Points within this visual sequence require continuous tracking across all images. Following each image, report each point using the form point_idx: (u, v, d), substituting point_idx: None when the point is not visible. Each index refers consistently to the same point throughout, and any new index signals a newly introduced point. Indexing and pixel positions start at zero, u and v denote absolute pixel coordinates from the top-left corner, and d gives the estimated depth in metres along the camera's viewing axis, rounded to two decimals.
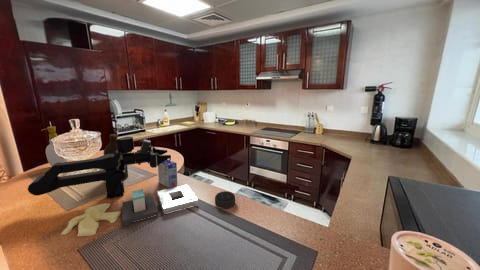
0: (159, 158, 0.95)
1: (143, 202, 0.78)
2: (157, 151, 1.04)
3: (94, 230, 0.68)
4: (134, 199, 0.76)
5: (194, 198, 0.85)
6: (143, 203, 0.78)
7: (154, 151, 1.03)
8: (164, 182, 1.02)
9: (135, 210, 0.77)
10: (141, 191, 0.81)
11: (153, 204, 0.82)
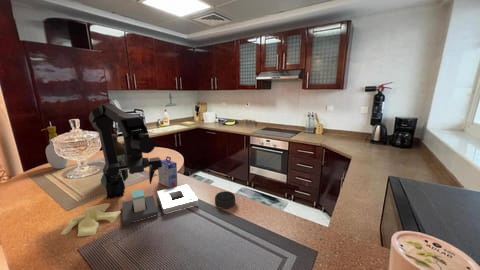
0: None
1: (143, 202, 0.78)
2: (150, 172, 0.80)
3: (94, 230, 0.68)
4: (134, 199, 0.76)
5: (194, 198, 0.85)
6: (143, 203, 0.78)
7: (150, 169, 0.79)
8: (164, 182, 1.02)
9: (135, 210, 0.77)
10: (141, 191, 0.81)
11: (153, 204, 0.82)
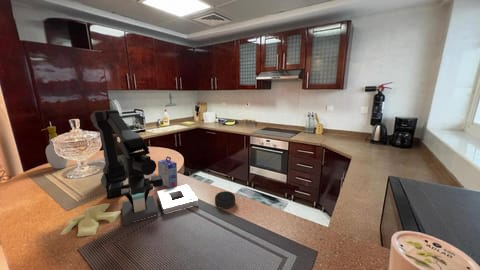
0: None
1: (143, 202, 0.78)
2: (144, 192, 0.80)
3: (94, 230, 0.68)
4: (134, 199, 0.76)
5: (194, 198, 0.85)
6: (143, 203, 0.78)
7: (145, 189, 0.80)
8: (164, 182, 1.02)
9: (135, 210, 0.77)
10: None
11: (153, 204, 0.82)
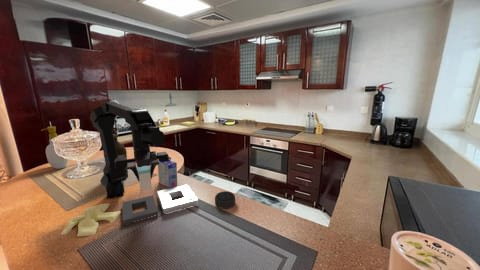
0: None
1: (149, 177, 0.77)
2: (150, 167, 0.79)
3: (94, 230, 0.68)
4: (140, 173, 0.75)
5: (194, 198, 0.85)
6: (149, 178, 0.77)
7: (150, 164, 0.79)
8: (164, 182, 1.02)
9: (141, 185, 0.76)
10: (147, 167, 0.80)
11: (153, 204, 0.82)
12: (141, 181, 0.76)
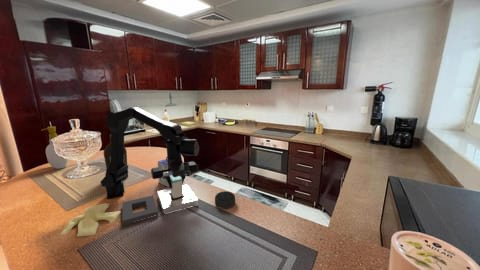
0: None
1: (181, 185, 0.85)
2: (181, 176, 0.87)
3: (94, 230, 0.68)
4: (173, 182, 0.83)
5: (194, 198, 0.85)
6: (181, 186, 0.85)
7: None
8: (164, 182, 1.02)
9: (174, 192, 0.84)
10: None
11: (153, 204, 0.82)
12: (174, 189, 0.83)
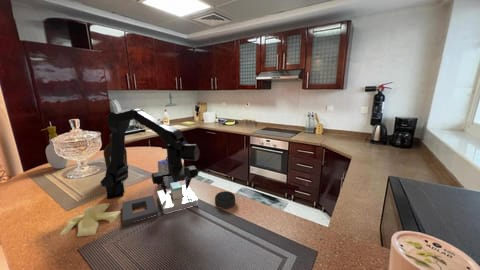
0: None
1: (181, 193, 0.85)
2: (187, 180, 0.88)
3: (94, 230, 0.68)
4: (174, 190, 0.83)
5: (194, 198, 0.85)
6: (181, 194, 0.85)
7: (187, 177, 0.88)
8: None
9: None
10: (178, 183, 0.88)
11: (153, 204, 0.82)
12: (175, 197, 0.84)
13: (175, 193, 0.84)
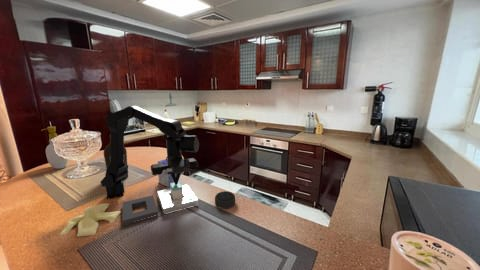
0: None
1: (181, 193, 0.85)
2: (176, 174, 0.85)
3: (94, 230, 0.69)
4: (174, 190, 0.83)
5: (194, 198, 0.85)
6: (181, 194, 0.85)
7: None
8: (164, 182, 1.02)
9: None
10: (178, 183, 0.88)
11: (153, 204, 0.82)
12: (175, 197, 0.84)
13: (175, 193, 0.84)
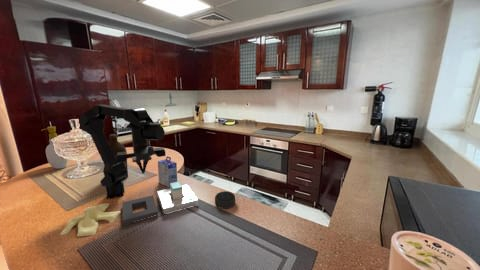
0: None
1: (181, 193, 0.85)
2: (143, 162, 0.85)
3: (94, 230, 0.69)
4: (174, 190, 0.83)
5: (194, 198, 0.85)
6: (181, 194, 0.85)
7: (143, 159, 0.85)
8: (164, 182, 1.02)
9: None
10: (178, 183, 0.88)
11: (153, 204, 0.82)
12: (175, 197, 0.84)
13: (175, 193, 0.84)
